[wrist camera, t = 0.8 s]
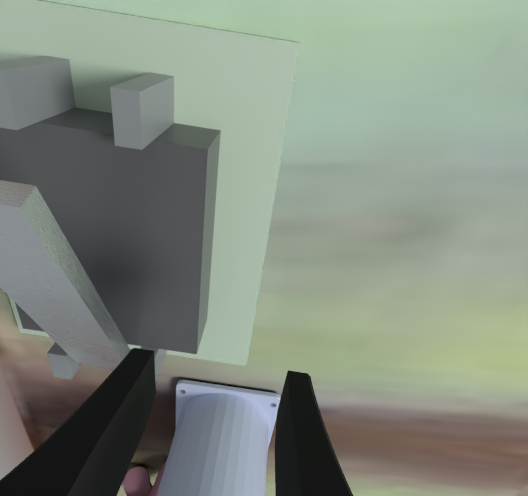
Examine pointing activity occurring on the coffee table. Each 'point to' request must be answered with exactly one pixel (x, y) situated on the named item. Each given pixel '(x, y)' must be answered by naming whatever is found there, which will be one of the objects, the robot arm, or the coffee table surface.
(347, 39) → the coffee table surface
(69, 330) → the block
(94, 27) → the board
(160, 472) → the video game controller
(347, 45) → the coffee table surface
